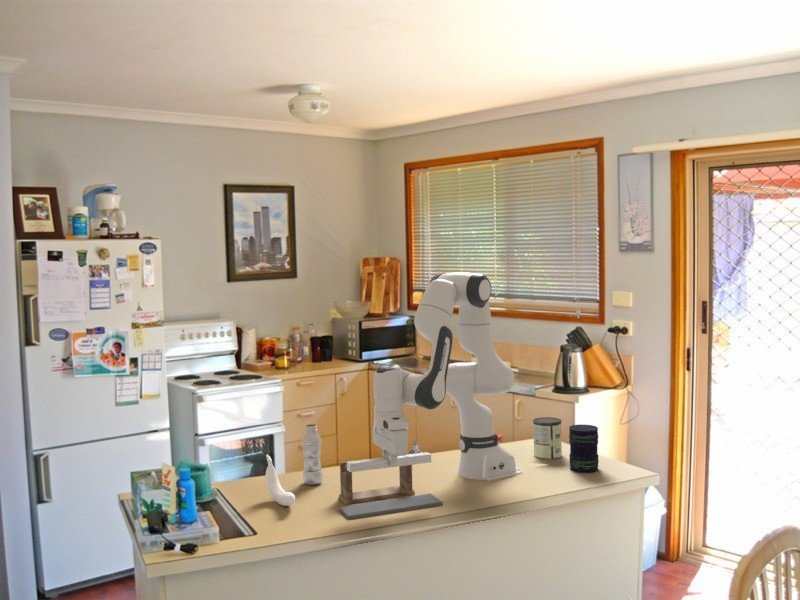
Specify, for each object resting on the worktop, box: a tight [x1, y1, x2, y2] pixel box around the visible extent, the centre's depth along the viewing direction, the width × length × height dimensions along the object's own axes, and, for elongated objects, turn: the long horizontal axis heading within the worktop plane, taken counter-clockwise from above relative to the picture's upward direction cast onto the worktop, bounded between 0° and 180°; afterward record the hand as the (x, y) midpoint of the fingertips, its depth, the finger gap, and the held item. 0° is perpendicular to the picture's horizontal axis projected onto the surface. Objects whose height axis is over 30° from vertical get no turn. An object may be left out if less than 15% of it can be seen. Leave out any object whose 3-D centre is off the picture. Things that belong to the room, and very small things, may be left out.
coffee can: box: [532, 416, 563, 461], centre depth 292 cm, size 10×10×14 cm
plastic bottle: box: [301, 423, 324, 486], centre depth 265 cm, size 6×7×20 cm
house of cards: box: [407, 440, 423, 454], centre depth 294 cm, size 9×9×8 cm
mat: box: [338, 493, 444, 520], centre depth 239 cm, size 30×9×1 cm, turn 112°
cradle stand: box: [338, 461, 416, 505], centre depth 251 cm, size 23×7×12 cm, turn 112°
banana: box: [265, 454, 296, 507], centre depth 244 cm, size 5×19×15 cm, turn 35°
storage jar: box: [568, 424, 599, 474], centre depth 275 cm, size 10×10×15 cm
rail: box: [346, 451, 432, 473], centre depth 238 cm, size 26×3×2 cm, turn 112°
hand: (389, 464), depth 238 cm, fingers closed on rail, 3 cm apart
